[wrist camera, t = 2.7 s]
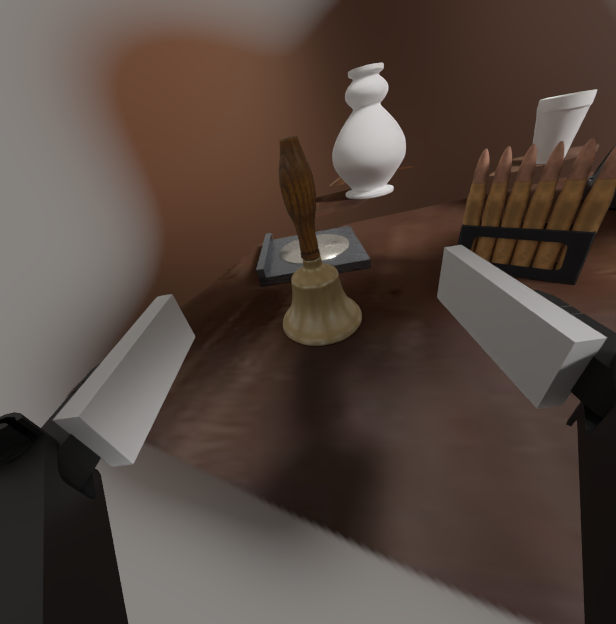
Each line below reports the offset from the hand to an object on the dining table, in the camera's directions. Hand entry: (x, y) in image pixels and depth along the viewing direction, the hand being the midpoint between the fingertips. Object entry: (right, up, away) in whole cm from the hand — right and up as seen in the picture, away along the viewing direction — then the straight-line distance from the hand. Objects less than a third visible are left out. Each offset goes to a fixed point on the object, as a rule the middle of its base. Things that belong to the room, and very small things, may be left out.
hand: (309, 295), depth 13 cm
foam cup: (+60, +37, +52) cm, 87 cm away
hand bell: (+1, -2, +14) cm, 14 cm away
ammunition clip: (+22, +3, +15) cm, 27 cm away
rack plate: (+1, +8, +28) cm, 29 cm away
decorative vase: (+17, +31, +57) cm, 67 cm away
